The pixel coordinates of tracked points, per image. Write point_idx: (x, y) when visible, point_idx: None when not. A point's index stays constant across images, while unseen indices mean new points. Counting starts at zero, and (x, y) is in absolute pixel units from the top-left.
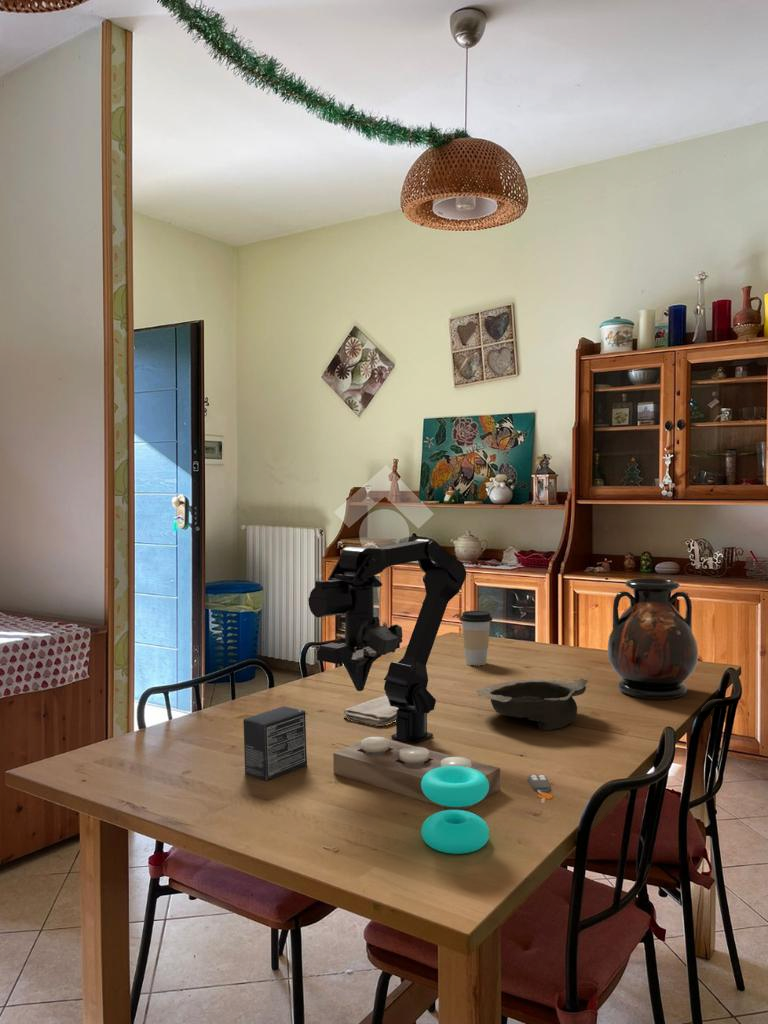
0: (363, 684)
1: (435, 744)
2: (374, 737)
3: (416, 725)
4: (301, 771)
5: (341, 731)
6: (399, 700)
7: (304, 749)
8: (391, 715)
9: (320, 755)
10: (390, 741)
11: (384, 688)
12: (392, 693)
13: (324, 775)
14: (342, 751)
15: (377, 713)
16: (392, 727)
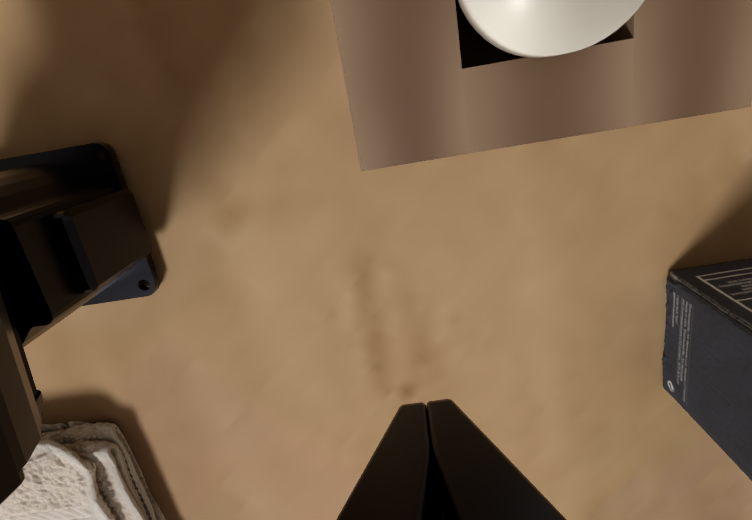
0: (415, 444)
1: (16, 71)
2: (502, 20)
3: (21, 184)
4: (741, 228)
5: (282, 479)
6: (2, 300)
7: (734, 300)
8: None
9: (540, 325)
10: (356, 23)
11: (15, 484)
12: (3, 381)
13: (721, 114)
14: (698, 87)
15: (68, 502)
16: (71, 389)
